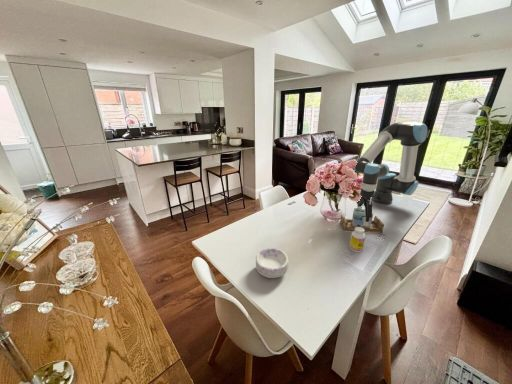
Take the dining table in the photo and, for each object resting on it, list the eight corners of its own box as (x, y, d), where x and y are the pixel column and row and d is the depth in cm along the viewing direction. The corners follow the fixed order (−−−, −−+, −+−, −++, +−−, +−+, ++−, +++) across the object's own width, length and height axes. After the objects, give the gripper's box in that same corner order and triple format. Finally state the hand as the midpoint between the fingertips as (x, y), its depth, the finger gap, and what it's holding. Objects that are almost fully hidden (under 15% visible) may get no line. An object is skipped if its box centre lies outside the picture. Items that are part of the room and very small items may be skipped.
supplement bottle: (356, 254, 111) (360, 233, 106) (346, 247, 117) (350, 227, 112) (365, 250, 114) (369, 230, 109) (354, 244, 119) (358, 224, 115)
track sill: (340, 221, 143) (341, 214, 141) (374, 223, 140) (376, 215, 138) (344, 231, 132) (346, 222, 130) (382, 233, 130) (384, 224, 127)
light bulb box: (352, 227, 135) (354, 212, 131) (351, 222, 141) (353, 207, 137) (370, 229, 131) (373, 214, 127) (368, 224, 137) (372, 209, 133)
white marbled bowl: (264, 287, 91) (264, 273, 88) (251, 265, 104) (250, 252, 101) (294, 277, 97) (295, 263, 94) (277, 257, 110) (278, 244, 107)
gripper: (354, 182, 138) (349, 211, 146) (368, 197, 115) (362, 230, 123) (366, 182, 137) (361, 211, 145) (383, 197, 114) (375, 231, 122)
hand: (361, 220), depth 134 cm, fingers open, 13 cm apart
